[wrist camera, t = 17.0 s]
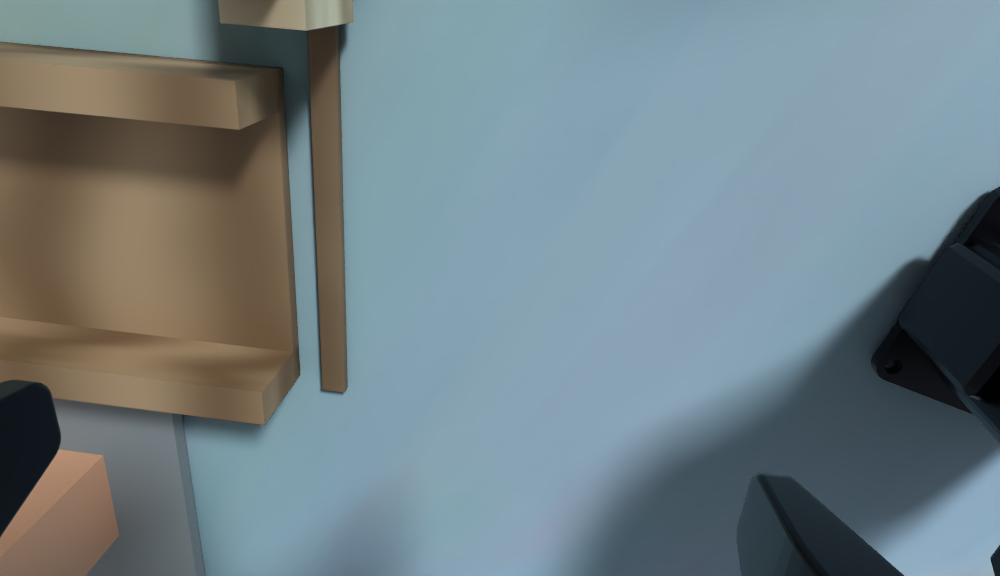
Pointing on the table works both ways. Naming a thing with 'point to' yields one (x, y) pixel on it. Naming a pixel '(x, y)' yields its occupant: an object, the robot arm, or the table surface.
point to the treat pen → (163, 229)
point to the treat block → (62, 520)
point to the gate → (286, 13)
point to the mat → (140, 486)
